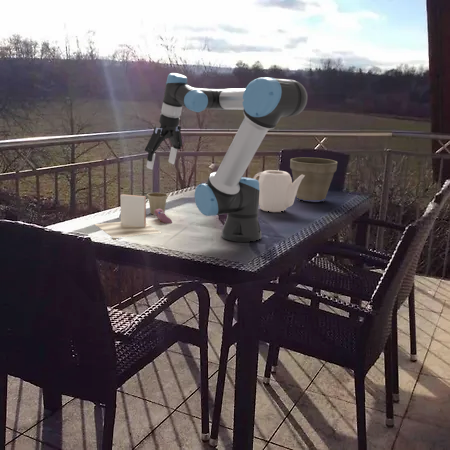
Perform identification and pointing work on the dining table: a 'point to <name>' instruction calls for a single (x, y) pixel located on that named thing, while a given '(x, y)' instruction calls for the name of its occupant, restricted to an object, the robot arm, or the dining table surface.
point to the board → (125, 230)
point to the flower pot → (157, 201)
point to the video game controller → (162, 216)
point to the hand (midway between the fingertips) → (160, 165)
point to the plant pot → (313, 176)
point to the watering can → (277, 190)
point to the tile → (133, 210)
